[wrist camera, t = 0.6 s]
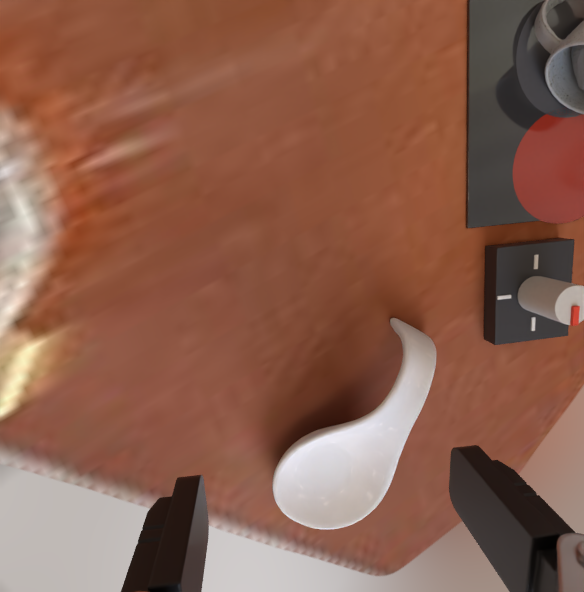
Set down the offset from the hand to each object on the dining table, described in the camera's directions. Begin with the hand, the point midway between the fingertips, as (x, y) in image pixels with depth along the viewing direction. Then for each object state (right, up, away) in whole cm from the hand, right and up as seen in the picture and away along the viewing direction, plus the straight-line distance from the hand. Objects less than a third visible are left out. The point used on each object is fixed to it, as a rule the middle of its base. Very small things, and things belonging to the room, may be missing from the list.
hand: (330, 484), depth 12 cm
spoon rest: (+5, -7, +30) cm, 31 cm away
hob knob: (+23, +6, +27) cm, 36 cm away
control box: (+23, +7, +29) cm, 37 cm away
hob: (+25, +24, +25) cm, 43 cm away
